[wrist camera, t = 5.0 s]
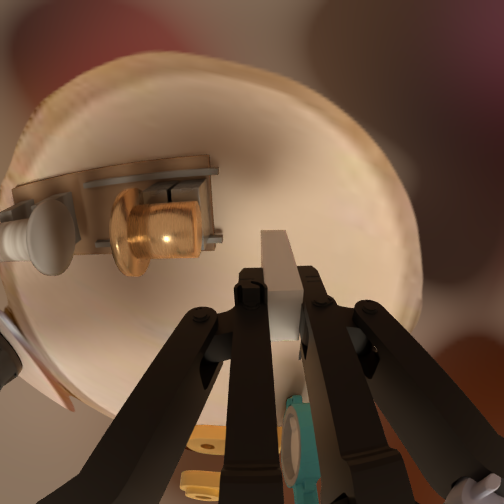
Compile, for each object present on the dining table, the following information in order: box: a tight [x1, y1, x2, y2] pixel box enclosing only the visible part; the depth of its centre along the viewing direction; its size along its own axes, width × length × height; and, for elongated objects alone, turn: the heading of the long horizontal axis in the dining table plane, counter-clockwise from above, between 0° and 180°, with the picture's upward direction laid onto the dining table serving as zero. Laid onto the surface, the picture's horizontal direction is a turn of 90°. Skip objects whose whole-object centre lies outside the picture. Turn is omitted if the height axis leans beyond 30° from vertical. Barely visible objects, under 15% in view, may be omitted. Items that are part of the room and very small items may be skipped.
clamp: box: [180, 425, 282, 501], centre depth 42 cm, size 20×9×16 cm, turn 87°
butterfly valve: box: [281, 395, 321, 504], centre depth 30 cm, size 27×7×30 cm, turn 175°
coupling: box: [109, 179, 210, 276], centre depth 22 cm, size 6×7×10 cm
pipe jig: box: [0, 155, 223, 276], centre depth 23 cm, size 29×10×12 cm, turn 91°
